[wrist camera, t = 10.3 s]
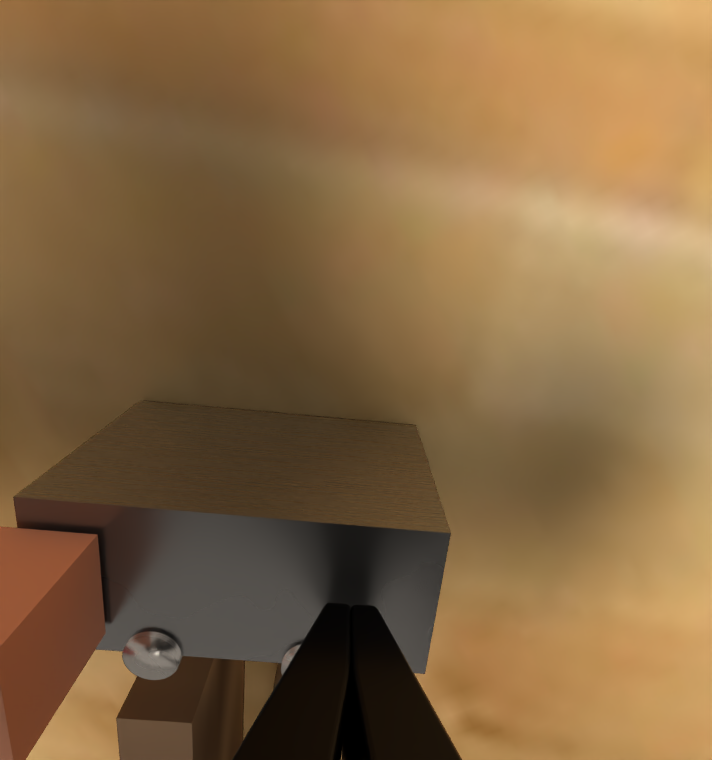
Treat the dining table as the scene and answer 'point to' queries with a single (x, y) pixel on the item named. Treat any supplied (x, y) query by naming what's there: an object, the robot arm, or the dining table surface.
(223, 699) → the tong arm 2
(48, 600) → the tab
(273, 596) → the grey block
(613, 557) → the dining table surface
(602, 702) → the dining table surface
